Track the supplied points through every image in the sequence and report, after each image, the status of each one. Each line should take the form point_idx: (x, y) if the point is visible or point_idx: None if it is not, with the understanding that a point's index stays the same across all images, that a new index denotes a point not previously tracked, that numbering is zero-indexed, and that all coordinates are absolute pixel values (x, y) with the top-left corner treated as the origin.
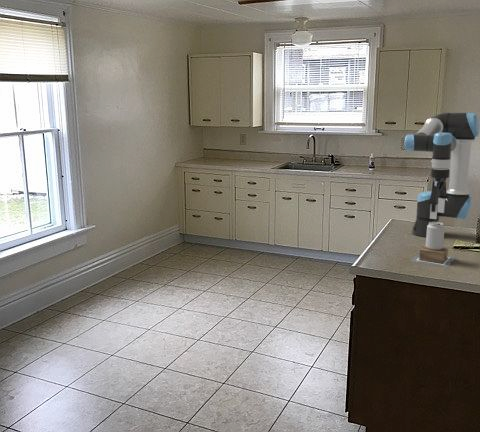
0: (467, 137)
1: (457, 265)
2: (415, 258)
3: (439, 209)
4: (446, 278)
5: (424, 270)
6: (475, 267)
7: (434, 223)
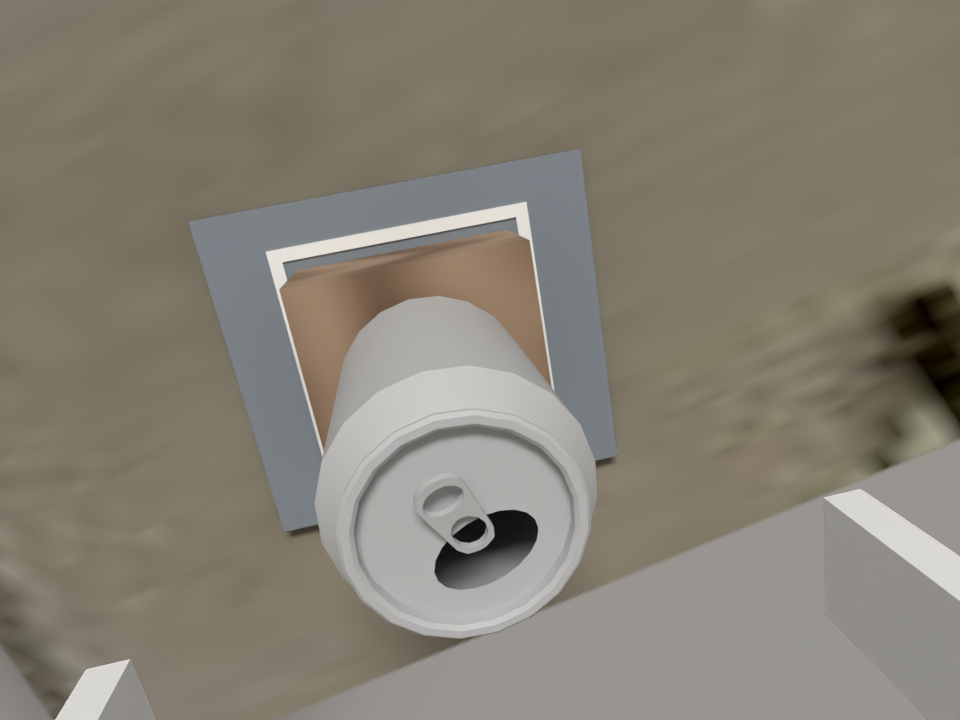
0: None
1: None
2: (320, 217)
3: (874, 579)
4: (72, 616)
5: (108, 415)
6: None
7: (443, 515)
